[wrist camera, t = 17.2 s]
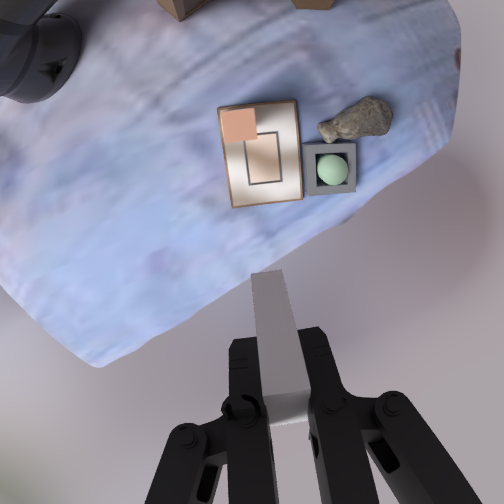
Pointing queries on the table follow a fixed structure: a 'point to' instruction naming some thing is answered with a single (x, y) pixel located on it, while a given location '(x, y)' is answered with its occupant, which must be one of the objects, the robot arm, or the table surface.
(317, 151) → the button housing
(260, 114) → the cream rectangular board
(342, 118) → the stone
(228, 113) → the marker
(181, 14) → the photo frame
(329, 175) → the button
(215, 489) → the robot arm
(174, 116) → the table surface
